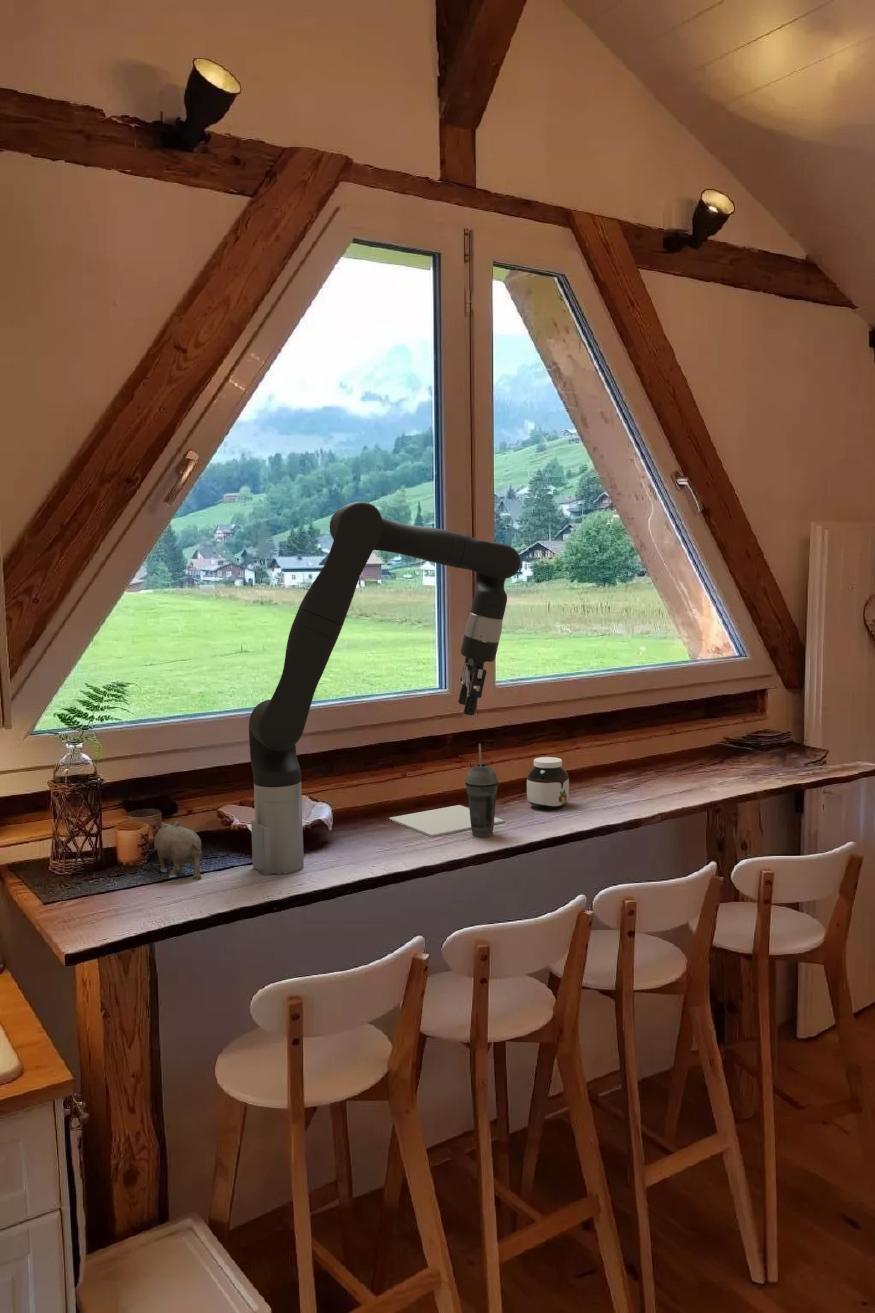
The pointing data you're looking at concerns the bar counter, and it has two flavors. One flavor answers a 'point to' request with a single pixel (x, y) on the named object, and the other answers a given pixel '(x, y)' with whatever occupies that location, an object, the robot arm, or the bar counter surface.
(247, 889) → the bar counter surface
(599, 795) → the bar counter surface
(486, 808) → the beverage cup
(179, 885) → the bar counter surface
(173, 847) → the elephant figurine
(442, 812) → the white flat panel
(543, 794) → the spread jar
